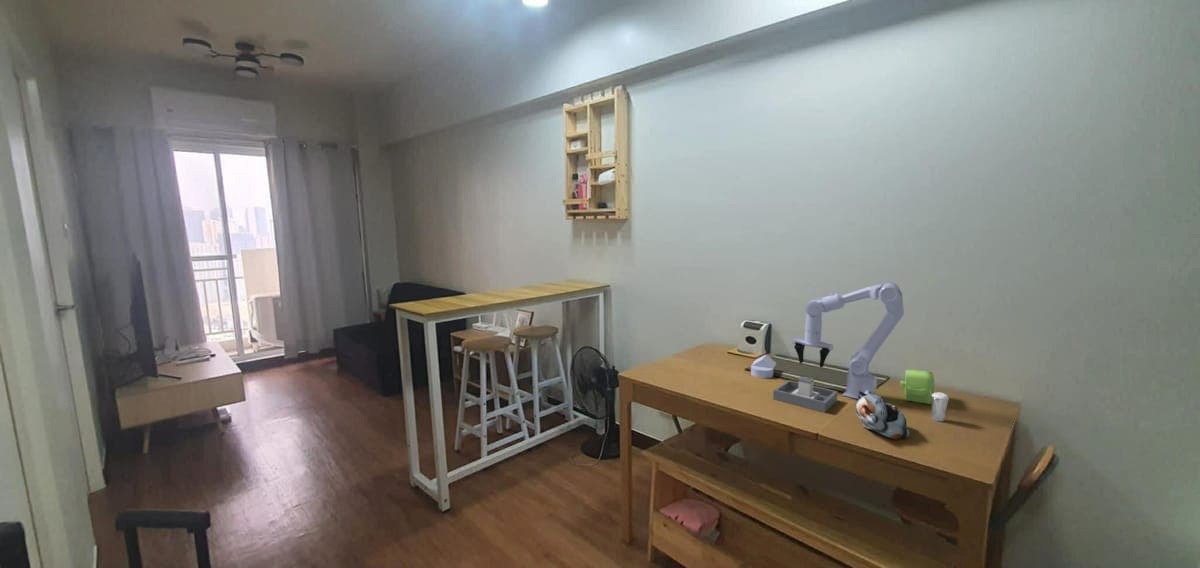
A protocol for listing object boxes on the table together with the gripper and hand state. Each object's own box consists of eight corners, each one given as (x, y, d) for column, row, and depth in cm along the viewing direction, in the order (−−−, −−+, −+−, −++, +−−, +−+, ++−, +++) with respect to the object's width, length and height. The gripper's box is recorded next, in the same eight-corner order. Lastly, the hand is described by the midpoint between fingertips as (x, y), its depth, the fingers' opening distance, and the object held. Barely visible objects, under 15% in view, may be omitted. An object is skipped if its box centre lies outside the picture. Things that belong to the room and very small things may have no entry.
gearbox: (899, 388, 180) (900, 364, 179) (930, 392, 175) (931, 367, 174) (900, 403, 165) (901, 377, 164) (933, 407, 160) (934, 381, 159)
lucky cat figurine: (912, 444, 135) (894, 406, 132) (868, 449, 142) (850, 413, 139) (906, 412, 147) (890, 377, 145) (865, 418, 154) (849, 384, 151)
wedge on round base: (755, 367, 206) (748, 376, 195) (755, 352, 205) (749, 360, 194) (776, 370, 201) (771, 379, 190) (776, 355, 200) (771, 364, 189)
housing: (837, 400, 168) (837, 391, 167) (824, 412, 158) (825, 403, 157) (787, 388, 180) (788, 380, 179) (773, 399, 170) (773, 390, 169)
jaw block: (812, 396, 169) (814, 378, 168) (809, 400, 166) (810, 381, 165) (801, 394, 172) (802, 376, 171) (797, 397, 169) (798, 379, 168)
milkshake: (927, 414, 155) (929, 386, 154) (946, 419, 152) (949, 390, 150) (925, 419, 152) (928, 390, 150) (946, 423, 148) (948, 394, 147)
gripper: (790, 329, 180) (788, 363, 182) (829, 335, 170) (827, 371, 172) (797, 326, 185) (795, 358, 187) (835, 332, 175) (833, 366, 177)
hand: (811, 364), depth 179 cm, fingers open, 7 cm apart
